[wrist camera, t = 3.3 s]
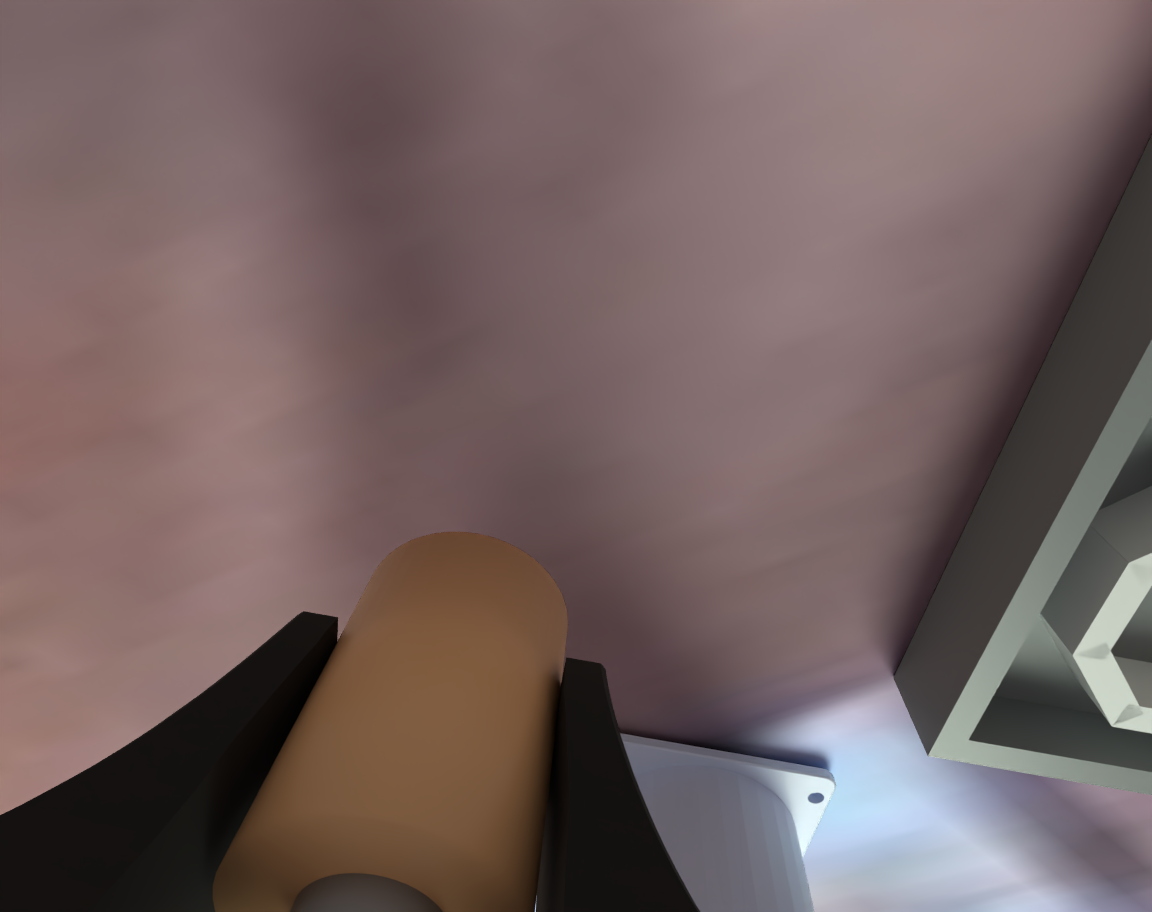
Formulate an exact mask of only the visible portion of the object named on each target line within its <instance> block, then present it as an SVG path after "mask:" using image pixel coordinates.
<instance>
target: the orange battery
mask: <svg viewBox="0 0 1152 912" xmlns="http://www.w3.org/2000/svg"><path fill="white" fill-rule="evenodd" d="M567 631H568V614H567V609H566V604H565V602H564V599H563V596H562V594H561V592H560V590H559V588H558V586H557V584H556V583H555V581H554V580H553V579H552V577H551V576H550V575H549V573H548V572H547V571H546V570H545V569H544V568H543V567H542V566H541V565H540V564H539V563H538V562H537V561H536V560H534V559H533V558H532V557H531V556H529V555H528V554H526V553H525V552H523V551H522V550H520V549H518V548H517V547H515V546H513V545H511V544H508V543H506V542H504V541H501V540H499V539H496V538H493V537H490V536H485V535H481V534H476V533H468V532H442V533H434V534H430V535H426V536H422V537H419V538H416V539H414V540H411V541H409V542H407V543H405V544H403V545H401V546H399V547H398V548H397V549H395V550H394V551H393V552H391V553H390V554H389V555H388V556H387V557H386V558H385V559H384V560H383V561H382V562H381V563H380V565H379V566H378V567H377V569H376V570H375V572H374V574H373V576H372V577H371V579H370V581H369V583H368V585H367V587H366V589H365V591H364V593H363V595H362V596H361V598H360V600H359V602H358V604H357V606H356V608H355V610H354V612H353V614H352V615H351V617H350V619H349V621H348V623H347V625H346V627H345V629H344V631H343V632H342V634H341V636H340V638H339V640H338V642H337V644H336V646H335V648H334V650H333V651H332V653H331V655H330V657H329V659H328V661H327V663H326V665H325V667H324V669H323V670H322V672H321V674H320V676H319V678H318V680H317V682H316V684H315V686H314V687H313V689H312V691H311V693H310V695H309V697H308V699H307V701H306V703H305V705H304V706H303V708H302V710H301V712H300V714H299V716H298V718H297V720H296V722H295V724H294V725H293V727H292V729H291V731H290V733H289V735H288V737H287V739H286V741H285V742H284V744H283V746H282V748H281V750H280V752H279V754H278V756H277V758H276V760H275V761H274V763H273V765H272V767H271V769H270V771H269V773H268V775H267V777H266V779H265V780H264V782H263V784H262V786H261V788H260V790H259V792H258V794H257V796H256V797H255V799H254V801H253V803H252V805H251V807H250V809H249V811H248V813H247V815H246V816H245V818H244V820H243V822H242V824H241V826H240V828H239V830H238V832H237V834H236V835H235V837H234V839H233V841H232V843H231V845H230V847H229V849H228V851H227V852H226V854H225V856H224V858H223V860H222V862H221V864H220V866H219V868H218V870H217V872H216V875H215V879H214V883H213V903H214V908H215V912H535V904H536V895H537V887H538V878H539V870H540V861H541V853H542V844H543V836H544V827H545V819H546V810H547V802H548V793H549V785H550V776H551V768H552V759H553V750H554V742H555V729H556V720H557V712H558V703H559V695H560V687H561V682H562V674H563V665H564V657H565V648H566V640H567Z"/></svg>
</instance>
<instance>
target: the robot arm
mask: <svg viewBox="0 0 1152 912" xmlns="http://www.w3.org/2000/svg"><path fill="white" fill-rule="evenodd" d="M337 632H338V617H333V616H327V615H321V614H316V613H310V612H304V611H303V612H302V613H300V614H299V615H297V616H296V617H295V618H294V619H292V620H291V621H290V622H289V623H288V624H286V625H285V626H284V627H283V628H282V629H281V630H279V631H278V632H277V633H276V634H275V635H274V636H272V637H271V638H270V639H269V640H268V641H267V642H265V643H264V644H263V645H262V646H261V647H259V648H258V649H257V650H256V651H254V652H253V653H252V654H251V655H250V656H248V657H247V658H246V659H245V660H244V661H242V662H241V663H240V664H239V665H237V666H236V667H235V668H233V669H232V670H231V671H230V672H228V673H227V674H226V675H225V676H223V677H222V678H221V679H219V680H218V681H217V682H216V683H214V684H213V685H212V686H211V687H209V688H208V689H207V690H205V691H204V692H203V693H201V694H200V695H199V696H197V697H196V698H194V699H193V700H192V701H190V702H189V703H187V704H186V705H185V706H183V707H182V708H180V709H179V710H178V711H176V712H175V713H173V714H172V715H171V716H169V717H168V718H166V719H165V720H164V721H162V722H161V723H159V724H158V725H157V726H155V727H154V728H152V729H151V730H149V731H148V732H146V733H145V734H143V735H142V736H140V737H139V738H137V739H135V740H134V741H132V742H131V743H129V744H128V745H126V746H125V747H123V748H121V749H120V750H118V751H116V752H115V753H113V754H112V755H110V756H108V757H107V758H105V759H103V760H102V761H100V762H98V763H97V764H95V765H93V766H92V767H90V768H88V769H86V770H85V771H83V772H81V773H79V774H78V775H76V776H74V777H72V778H70V779H69V780H67V781H65V782H63V783H61V784H60V785H58V786H56V787H54V788H52V789H50V790H48V791H46V792H45V793H43V794H41V795H39V796H37V797H35V798H33V799H32V800H30V801H28V802H26V803H24V804H22V805H20V806H18V807H16V808H14V809H12V810H10V811H8V812H6V813H4V814H2V815H0V912H215V908H214V903H213V883H214V879H215V875H216V872H217V870H218V868H219V866H220V864H221V862H222V860H223V858H224V856H225V854H226V852H227V851H228V849H229V847H230V845H231V843H232V841H233V839H234V837H235V835H236V834H237V832H238V830H239V828H240V826H241V824H242V822H243V820H244V818H245V816H246V815H247V813H248V811H249V809H250V807H251V805H252V803H253V801H254V799H255V797H256V796H257V794H258V792H259V790H260V788H261V786H262V784H263V782H264V780H265V779H266V777H267V775H268V773H269V771H270V769H271V767H272V765H273V763H274V761H275V760H276V758H277V756H278V754H279V752H280V750H281V748H282V746H283V744H284V742H285V741H286V739H287V737H288V735H289V733H290V731H291V729H292V727H293V725H294V724H295V722H296V720H297V718H298V716H299V714H300V712H301V710H302V708H303V706H304V705H305V703H306V701H307V699H308V697H309V695H310V693H311V691H312V689H313V687H314V686H315V684H316V682H317V680H318V678H319V676H320V674H321V672H322V670H323V669H324V667H325V665H326V663H327V661H328V659H329V657H330V655H331V653H332V651H333V650H334V648H335V646H336V644H337ZM835 787H836V784H835V780H834V777H833V775H832V773H831V772H830V771H828V770H826V769H823V768H817V767H811V766H806V765H800V764H794V763H788V762H783V761H777V760H771V759H765V758H760V757H754V756H748V755H742V754H737V753H731V752H725V751H719V750H714V749H708V748H702V747H696V746H691V745H685V744H679V743H673V742H667V741H662V740H656V739H650V738H644V737H639V736H633V735H627V734H621V733H620V731H619V728H618V724H617V721H616V717H615V714H614V710H613V706H612V702H611V698H610V693H609V688H608V683H607V677H606V670H605V668H604V667H603V666H602V665H601V664H600V663H595V662H589V661H583V660H577V659H572V658H566V662H565V667H564V672H563V677H562V682H561V687H560V695H559V703H558V712H557V720H556V729H555V742H554V750H553V759H552V768H551V776H550V785H549V793H548V802H547V810H546V819H545V827H544V836H543V844H542V853H541V861H540V870H539V878H538V887H537V899H536V912H814V907H813V903H812V898H811V894H810V889H809V885H808V880H807V876H806V871H805V867H804V862H803V856H804V854H805V852H806V850H807V848H808V846H809V844H810V842H811V839H812V837H813V835H814V833H815V831H816V829H817V827H818V825H819V822H820V820H821V818H822V816H823V814H824V812H825V810H826V808H827V805H828V803H829V801H830V799H831V797H832V795H833V793H834V791H835Z"/></svg>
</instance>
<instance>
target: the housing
mask: <svg viewBox="0 0 1152 912" xmlns="http://www.w3.org/2000/svg"><path fill="white" fill-rule="evenodd" d="M894 680H895V682H896V685H897V687H898V689H899V691H900V694H901V696H902V698H903V701H904V703H905V705H906V707H907V710H908V712H909V714H910V717H911V719H912V721H913V723H914V726H915V728H916V730H917V732H918V735H919V737H920V739H921V742H922V744H923V746H924V748H925V751H926V753H927V755H928V756H931V757H936V758H942V759H948V760H954V761H959V762H965V763H971V764H977V765H982V766H988V767H994V768H1000V769H1005V770H1011V771H1017V772H1023V773H1028V774H1034V775H1040V776H1045V777H1051V778H1057V779H1063V780H1068V781H1074V782H1080V783H1086V784H1091V785H1097V786H1103V787H1109V788H1114V789H1120V790H1126V791H1131V792H1137V793H1143V794H1149V795H1152V136H1151V138H1150V140H1149V142H1148V144H1147V146H1146V148H1145V150H1144V152H1143V155H1142V157H1141V159H1140V161H1139V163H1138V165H1137V167H1136V169H1135V171H1134V173H1133V176H1132V178H1131V180H1130V182H1129V184H1128V186H1127V188H1126V190H1125V192H1124V194H1123V197H1122V199H1121V201H1120V203H1119V205H1118V207H1117V209H1116V211H1115V213H1114V216H1113V218H1112V220H1111V222H1110V224H1109V226H1108V228H1107V230H1106V232H1105V234H1104V237H1103V239H1102V241H1101V243H1100V245H1099V247H1098V249H1097V251H1096V253H1095V255H1094V258H1093V260H1092V262H1091V264H1090V266H1089V268H1088V270H1087V272H1086V274H1085V276H1084V279H1083V281H1082V283H1081V285H1080V287H1079V289H1078V291H1077V293H1076V295H1075V297H1074V300H1073V302H1072V304H1071V306H1070V308H1069V310H1068V312H1067V314H1066V316H1065V318H1064V321H1063V323H1062V325H1061V327H1060V329H1059V331H1058V333H1057V335H1056V337H1055V339H1054V342H1053V344H1052V346H1051V348H1050V350H1049V352H1048V354H1047V356H1046V358H1045V360H1044V363H1043V365H1042V367H1041V369H1040V371H1039V373H1038V375H1037V377H1036V379H1035V381H1034V384H1033V386H1032V388H1031V390H1030V392H1029V394H1028V396H1027V398H1026V400H1025V402H1024V405H1023V407H1022V409H1021V411H1020V413H1019V415H1018V417H1017V419H1016V421H1015V423H1014V426H1013V428H1012V430H1011V432H1010V434H1009V436H1008V438H1007V440H1006V442H1005V445H1004V447H1003V449H1002V451H1001V453H1000V455H999V457H998V459H997V461H996V463H995V466H994V468H993V470H992V472H991V474H990V476H989V478H988V480H987V482H986V484H985V487H984V489H983V491H982V493H981V495H980V497H979V499H978V501H977V503H976V505H975V508H974V510H973V512H972V514H971V516H970V518H969V520H968V522H967V524H966V526H965V529H964V531H963V533H962V535H961V537H960V539H959V541H958V543H957V545H956V547H955V550H954V552H953V554H952V556H951V558H950V560H949V562H948V564H947V566H946V568H945V571H944V573H943V575H942V577H941V579H940V581H939V583H938V585H937V587H936V589H935V592H934V594H933V596H932V598H931V600H930V602H929V604H928V606H927V608H926V610H925V613H924V615H923V617H922V619H921V621H920V623H919V625H918V627H917V629H916V631H915V634H914V636H913V638H912V640H911V642H910V644H909V646H908V648H907V650H906V652H905V655H904V657H903V659H902V661H901V663H900V665H899V667H898V669H897V671H896V673H895V676H894Z"/></svg>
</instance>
